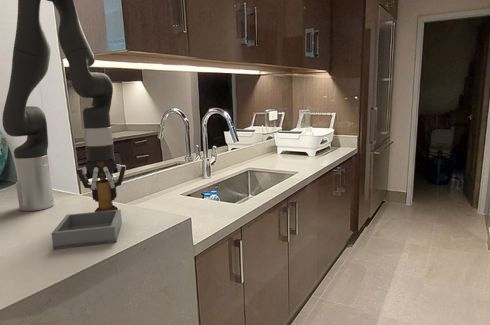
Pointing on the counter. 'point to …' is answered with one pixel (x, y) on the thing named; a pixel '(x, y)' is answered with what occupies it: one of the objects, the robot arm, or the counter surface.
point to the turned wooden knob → (104, 193)
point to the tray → (87, 229)
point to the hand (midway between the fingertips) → (105, 200)
